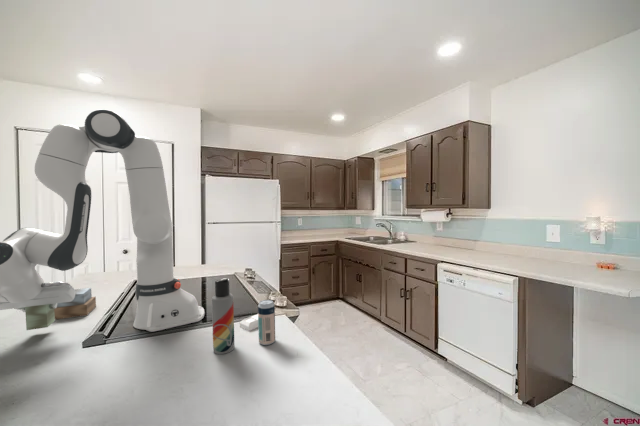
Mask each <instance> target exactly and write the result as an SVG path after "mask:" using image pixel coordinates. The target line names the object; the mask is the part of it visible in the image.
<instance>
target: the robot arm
mask: <svg viewBox="0 0 640 426" xmlns="http://www.w3.org/2000/svg"><path fill="white" fill-rule="evenodd" d="M93 153H103V154H104V153H105V154H117V153H119V154H120V155H121V156H122V159H123V162H124V168H125V175H126V181H127V187H128V193H129V194H128V195H129V204H130V214H131V223H132V224H131V225H132V230H133V234H134V236H135V237H136V241H137V242H136V284H135V298H136V301H137V302H136V311H135V317H134V322H133V323H132V325H133V327H134V328H135V329H139V330H143V331H144V330H146V331H147V332H150V333H151V332H157V331H163V330H165V329H166V330H168V329H171V328H175V327H180V326H184V325H185V326H186V325H188V324H191V323H197V322H200V321H201V320H202V319H204V317H205V315H206V312H205V309H204V307H203V306H200V305H199V304H198V300H197V298H196V297H195V295H193V294H192V293H191V292H188V291H186V290H184V289H182V287H181V286H182V284H181V280H180V279H179V278H178V279H177V278H175V277H174V276H175V275H174V249H173V247H174V246H173V222H172V218H171V211H170V204H169V199H168V198H169V197H168V191H167V185H166V178H165V173H164V172H165V171H164V165H163V161H162V156H161V154H160V150H159V147H158V144H157V143H156V141H154V140H153V139H152V138H150V137H147V136H142V135H139V136H138V135H136V133H135V131H134V130H133V129H132V128H131V126H130V125H129V124H128V122H127V121H126V119H124V118H123V117H122V116H121V115H120V114H119V113H117V112H115V111H113V110H110V109H105V108H101V109H96V110H93V111H91V112H90V113H89V114H88V115H87V116H86V118H85V121H84V126H76V125H73V124H68V123H67V124H65V123H61V124H56V125H54V126H53V127H52V128H51V129H50V132H49V133H48V134H47V136H46V137H45V138H44V141H43V143H42V144H41V147H40V150H39V152H38V155H37V157H36V160H35V163H34V175H35V176H36V178H37V179H38V181H39V182H40V183H41V184H42V185H43V186H44V187H46V188H48V189H49V190H50V191H52V192H54V193H55V194H57V195H58V196H59V197H60V198H62V199H63V201H64V202H65V204H66V207H67V208H66V209H67V212H66V217H65V225H64V233H57V232H54V231H53V232H52V231H49V230H45V229H40V228H34V227H21V228H19V229H17V230H16V231H13V232H12V233H11V234H9V235H8V236H7V237H5V238H4V239H3V240H2V241H0V311H3V310H10V309H11V310H13V309H14V310H18V311H22V312H23V313H25V307H30V306H38V305H47V304H50V305H49V308H50V309H55V308H57V303H63V302H71V301H72V300H73V299H74V297H75V294H76V290H75V288H74V287H73V285H71V284H70V283H69V282H67V281H61V280H60V281H50V282H45V280H44V279H43V278H42V276H41V275H40V274H39V273H38V271H37V270H36V266H37V265H39V266H44V267H49V268H51V269H55V270H57V271H62V272H66V271H68V270H69V271H70V270H72V269H74V268H76V267H78V266H80V265H82V264H83V262H84V261H85V260H86V258H87V255H88V252H89V251H88V250H89V249H88V231H89V229H88V228H89V222H90V214H91V204H92V188H91V186H90V185H89V184H87V180H86V169H87V166H88V162H89V160H90V157H91V155H92V154H93Z"/></svg>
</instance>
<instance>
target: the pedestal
mask: <svg viewBox="0 0 640 426" xmlns="http://www.w3.org/2000/svg"><path fill="white" fill-rule="evenodd" d="M74 289H75V288H74ZM75 290H76V294H75V297H74V299H73V300H72V301H71V302H63V303H57V308H55V309H54V314H55V321H56V320H61V319H62V320H63V319H69V318H76V317H77V318H78V317H84V316H88V315H89V314H90V313H91V312H92V311H93V310H94V309H95V308H96V307H97V298H96V296H93V295H92V287H87V288H86V287H85V288H76V289H75Z"/></svg>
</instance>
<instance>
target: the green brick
mask: <svg viewBox="0 0 640 426" xmlns="http://www.w3.org/2000/svg"><path fill="white" fill-rule="evenodd" d="M49 305H50V304H47V305H38V306H30V307H25V312H24V314H25V324H26V325H25V327H26V331H31V330H39V329H44V328H49V327H50V326H51V325H52V324H53V323H55V322H56V320H55V314H54V309H50V308H49Z"/></svg>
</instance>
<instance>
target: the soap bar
mask: <svg viewBox="0 0 640 426" xmlns="http://www.w3.org/2000/svg"><path fill="white" fill-rule="evenodd" d="M239 328H241V329H243V330H246V331H247V332H250V331H252V330H255V329H257V328H258V313H257V314H254V315H251V316H248V317H247V318H244V319H242V320H241V321H240V322H239Z"/></svg>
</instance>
